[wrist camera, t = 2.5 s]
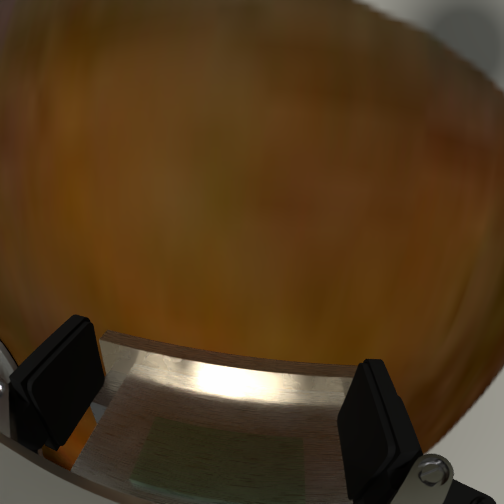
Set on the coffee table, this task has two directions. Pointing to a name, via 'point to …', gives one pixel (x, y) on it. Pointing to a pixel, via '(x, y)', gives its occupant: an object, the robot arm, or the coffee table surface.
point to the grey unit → (215, 426)
